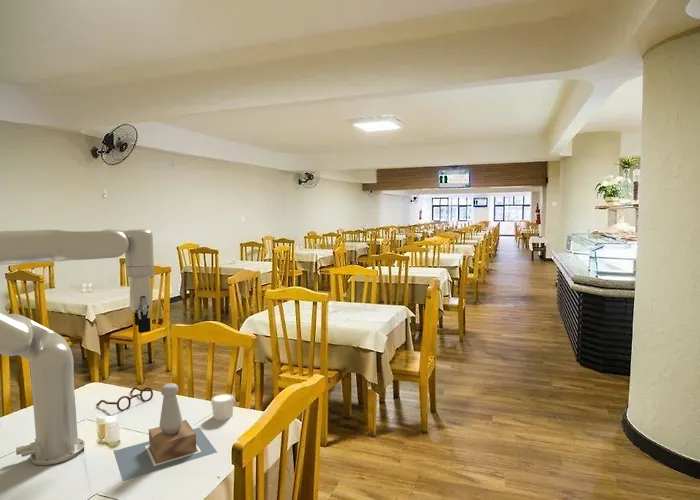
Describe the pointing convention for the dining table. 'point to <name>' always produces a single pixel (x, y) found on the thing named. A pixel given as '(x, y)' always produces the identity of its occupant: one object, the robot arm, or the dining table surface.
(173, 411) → the salt shaker
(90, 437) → the dining table surface
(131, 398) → the glasses
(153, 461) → the board
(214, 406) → the white rounded cylinder
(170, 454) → the walnut block
